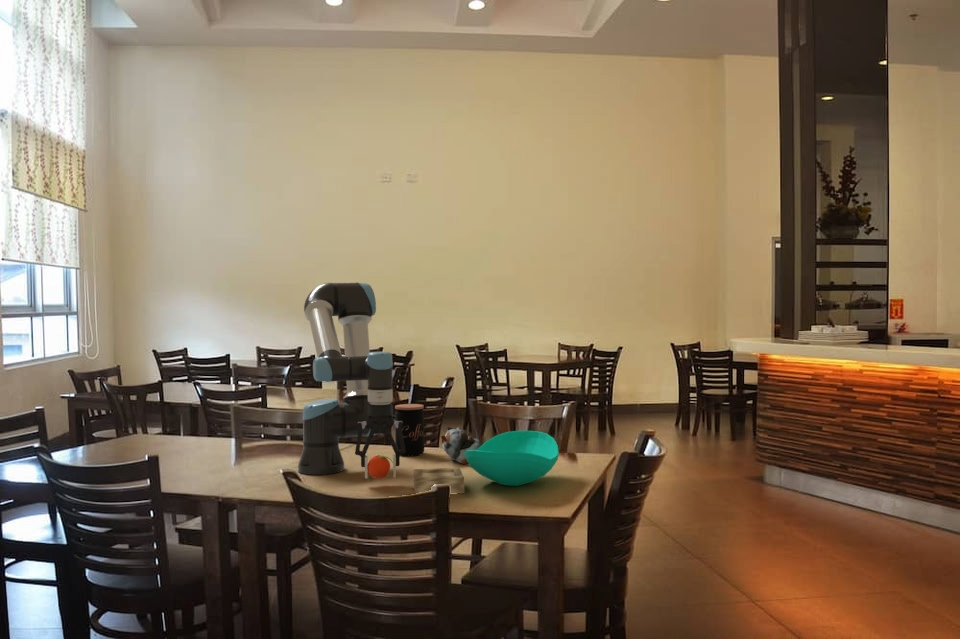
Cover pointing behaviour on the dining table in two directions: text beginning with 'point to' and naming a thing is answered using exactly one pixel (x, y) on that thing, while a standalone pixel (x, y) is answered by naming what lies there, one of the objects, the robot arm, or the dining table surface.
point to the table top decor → (515, 457)
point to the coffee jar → (410, 428)
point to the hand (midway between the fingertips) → (380, 477)
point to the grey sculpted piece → (458, 444)
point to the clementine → (379, 466)
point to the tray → (438, 479)
